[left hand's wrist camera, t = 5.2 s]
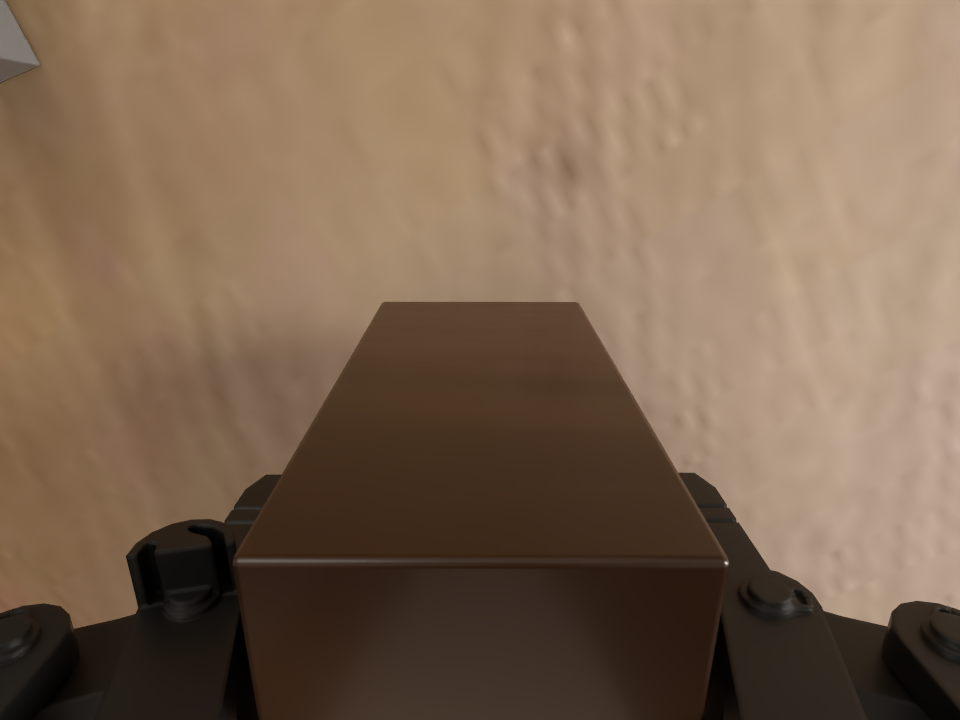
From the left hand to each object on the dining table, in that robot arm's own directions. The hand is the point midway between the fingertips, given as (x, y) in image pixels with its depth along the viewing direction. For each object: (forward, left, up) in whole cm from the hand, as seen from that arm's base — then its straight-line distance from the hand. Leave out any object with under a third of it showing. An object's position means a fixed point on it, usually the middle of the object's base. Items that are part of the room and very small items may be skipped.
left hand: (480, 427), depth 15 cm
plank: (+10, 0, 0) cm, 10 cm away
